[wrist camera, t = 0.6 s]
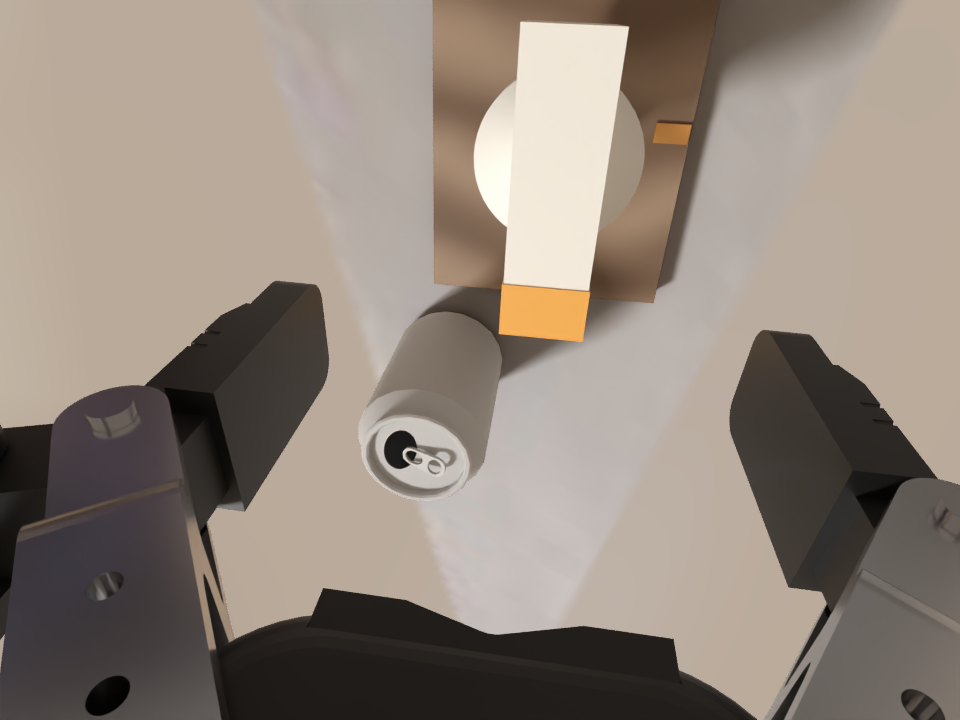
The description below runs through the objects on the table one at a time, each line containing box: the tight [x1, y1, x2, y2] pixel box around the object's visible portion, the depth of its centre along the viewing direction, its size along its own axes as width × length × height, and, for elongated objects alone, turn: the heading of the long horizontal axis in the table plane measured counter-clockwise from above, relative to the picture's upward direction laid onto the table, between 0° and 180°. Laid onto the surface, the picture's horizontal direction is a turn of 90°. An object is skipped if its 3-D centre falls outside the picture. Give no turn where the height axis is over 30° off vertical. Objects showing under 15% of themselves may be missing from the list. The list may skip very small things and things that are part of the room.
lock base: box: [433, 0, 720, 303], centre depth 29 cm, size 20×14×8 cm
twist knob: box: [474, 20, 645, 342], centre depth 22 cm, size 10×7×8 cm
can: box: [359, 312, 502, 501], centre depth 36 cm, size 8×8×12 cm
